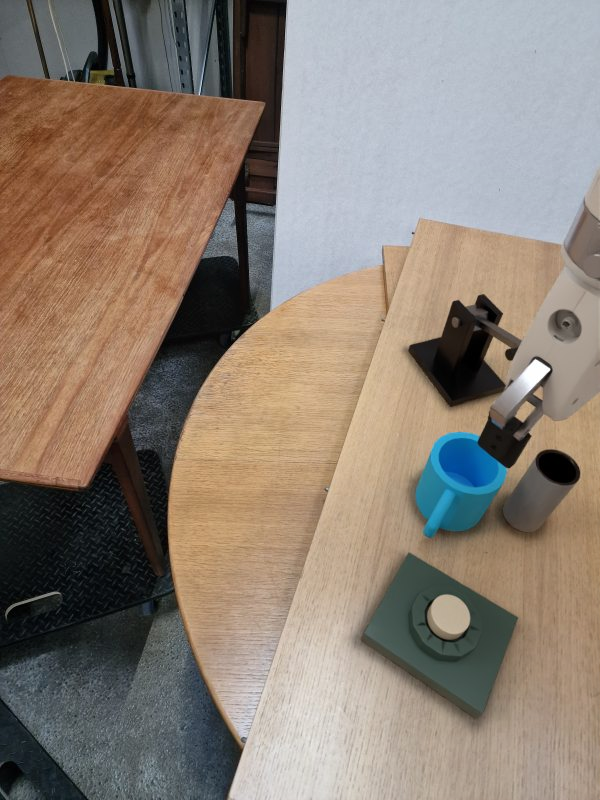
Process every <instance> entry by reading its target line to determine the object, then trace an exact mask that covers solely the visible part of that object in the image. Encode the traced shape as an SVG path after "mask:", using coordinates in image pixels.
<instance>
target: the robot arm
mask: <svg viewBox="0 0 600 800" xmlns="http://www.w3.org/2000/svg"><path fill="white" fill-rule="evenodd" d="M584 195H585V196H584V197H583V199H582V201H581V203H580V206H579V207H578V209H577V212H576V214H575V216H574V218H573V221H572V223H571V225H570V227H569V229H568V231H567V233H566V235H565V238H564V239H563V241H562V244H561V246H560V257H561V259H562V261H563V263H564V267H563V268H562V270H561V272H559V275H558V276H557V278H556V280H555V281H554V283H553V284H552V286H551V288H550V290H549V291H548V292H547V294H546V297H545V298H544V300H543V301H542V304H541V305H540V306H539V309H538V310H537V312H536V314H535V316H534V318H533V319H532V321H531V323H530V325H529V327H528V328H527V331H526V332H525V334H524V336H523V338H522V339H521V340H522V342H521V344H520V346H519V348H518V350H517V352H516V354H515V356H514V358H513V360H512V361H511V363H510V365H509V367H508V370H507V373H506V375H505V385H506V388H505V389H504V391H502V392H501V393H500V395H499V396H497V398H496V399H494V401H493V402H492V404H490V407H489V410H488V416H487V421H486V423H485V425H484V427H483V429H482V431H481V433H480V434H479V436H480V437H479V439H478V442H477V443H478V445H479V446H480V447H481V448H482V449H483V450H484V451H486V452H487V453H488V454H489V455H490V456H491V457H493V458H494V459H496V460H497V461H498V462H499V463H501V464H502V465H503V466H504V467H506V468H507V469H511V468H512V467H514V466H515V465H516V463H517V462H518V460H519V458H520V456H521V455H522V453H523V452H524V450H525V448H526V446H527V444H528V443H529V442H530V440H531V438H532V436H533V435H532V434H530V431H531V430H532V429H533V428H534V426H535V425H536V424H537V423H538V422H539V421H540V419H541V418H542V417H543V416H544V415H545V416H547V417H548V418H550V419H551V420H552V421H554V422H561V421H565V420H568V419H569V418H571V417H572V416H573V415H575V414H576V413H577V412H578V411H580V410H581V409H582V408H583V407H584V406H586V405H587V404H588V403H589V402H590V401H591V400H593V399H594V398H595V397H596V396H597V395H598V394H599V393H600V164H599V165H598V167H597V169H596V171H595V173H594V175H593V177H592V180H591V182H590V184H589V187H588V189H587V191H586V193H585V194H584ZM540 388H541V389H542V398H540V397H539V396H537V395H536V394H535V392H537V390H539V389H540ZM526 402H528V403H529V404H530V405H532V406H533V407H534V408H533V410H531V412H530V413H529V414H528V416H527V417H526V418H525V419H524V420H523V421H522V420H521V419H519V418H518V417H516V416H517V414H518V411H519V410H520V409H521V407H522V406H523V405H524V404H525V403H526Z"/></svg>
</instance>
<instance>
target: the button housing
mask: <svg viewBox="0 0 600 800" xmlns="http://www.w3.org/2000/svg"><path fill="white" fill-rule="evenodd" d="M391 581H392V582H391V583H390V585H389V587H388V588H387V590H386V592H385V594H384V596H383V597H382V599H381V600H380V603H379V604H378V607H377V608H376V610H375V611H374V613H373V615H372V617H371V618H370V621H369V622H368V624H367V626H366V627H365V629H364V631H363V633H362V635H361V638H360V641H361V642H363V643H364V644H366V645H367V646H368V647H370V648H372V649H373V650H375V651H376V652H377V653H379V654H381V655H382V656H383V657H385V658H386V659H388V660H390V661H391V662H392V663H393V664H394V665H396V666H398V667H399V668H400V669H402V670H404V671H405V672H407V673H408V674H409V675H411V676H413V677H414V678H415V679H416V680H418V681H420V682H421V683H423V684H424V685H426V687H429V689H432V690H433V691H434V692H436V693H437V694H438V695H440V696H442V697H443V698H445V699H446V700H447V701H449V702H450V703H452V704H453V705H454V706H456V707H458V708H459V709H461V710H462V711H464V712H465V713H466V714H468V715H470V717H472V718H474V719H477V718H479V717H480V716H481V715H483V714H484V712H485V709H486V707H487V704H488V700H489V698H490V695H491V693H492V690H493V687H494V685H495V681H496V679H497V676H498V674H499V671H500V668H501V665H502V664H503V663H502V662H503V660H504V657H505V655H506V652H507V649H508V646H509V644H510V641H511V639H512V636H513V633H514V631H515V627H516V626H517V622H518V620H519V617H518V615H515V614H513V613H512V612H510V611H508V610H507V609H505V608H504V607H502V606H500V605H499V604H497V603H496V602H493V601H491V600H490V599H489V598H486V597H485V596H483V595H481V594H479V593H478V592H477V591H475V590H473V589H471V588H470V587H469V586H467V585H465V584H463V583H461V582H460V581H458V580H456V579H455V578H454V577H451V576H450V575H448V574H446V573H445V572H443V571H442V570H440V569H438V568H436V567H435V566H434V565H432V564H430V563H428V562H426V561H425V560H423V559H421V558H419V557H418V556H416V555H414V554H413V553H412V552H408V553H407V554H406V556H405V558H404V560H403V562H402V563H401V565H400V567H399V569H398V570H397V572H396V574H395V576H394V578H393V579H392V580H391ZM441 595H453V596H455V597H457V598H459V599H460V600H462V601H463V602H464V604H465V605H466V606H467V608H468V610H469V613H470V623H469V626H468V628H467V629H466V630H465V631H464V633H463V634H462V635H461V636H460V637H458V638H457V639H454V640H446V639H443V638H441V637H439V636H437V635H436V634H435V633H434V632H433V631H432V630H431V628H430V626H429V624H428V620H427V613H428V610H429V608H430V606H431V605H432V603H433V601H434V600H435V599H436V598H437V597H439V596H441Z"/></svg>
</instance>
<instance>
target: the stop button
mask: <svg viewBox="0 0 600 800" xmlns="http://www.w3.org/2000/svg"><path fill="white" fill-rule="evenodd" d="M427 620H428V624H429V626H430V628H431V630H432V631H433V632H434V633H435V634H436V635H437V636H439V637H441V638H443V639H446V640H454V639H457V638H458V637H460V636H461V635H462V634H463V633H464V631H465V630H466V629H467V628H468V626H469V623H470V613H469V610H468V608H467V606H466V605H465V604H464V602H463V601H462V600H460V599H459V598H457V597H455V596H453V595H441V596H439V597H437V598H436V599H435V600H434V601H433V603H432V605H431V606H430V608H429V610H428V613H427Z"/></svg>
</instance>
